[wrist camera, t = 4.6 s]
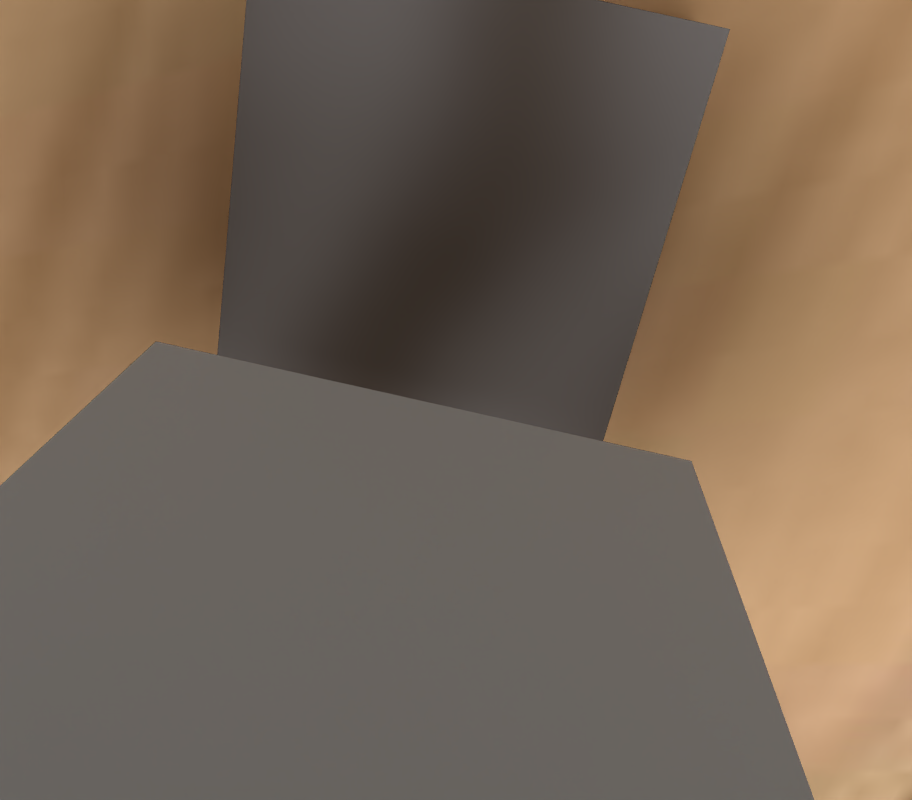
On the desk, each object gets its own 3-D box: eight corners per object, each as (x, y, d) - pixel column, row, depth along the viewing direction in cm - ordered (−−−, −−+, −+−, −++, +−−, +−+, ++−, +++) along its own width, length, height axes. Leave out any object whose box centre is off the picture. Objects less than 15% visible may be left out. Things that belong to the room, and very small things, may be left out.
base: (252, 324, 22) (216, 368, 19) (291, -63, 18) (252, -76, 15) (590, 393, 22) (601, 446, 19) (697, 26, 18) (730, 29, 16)
